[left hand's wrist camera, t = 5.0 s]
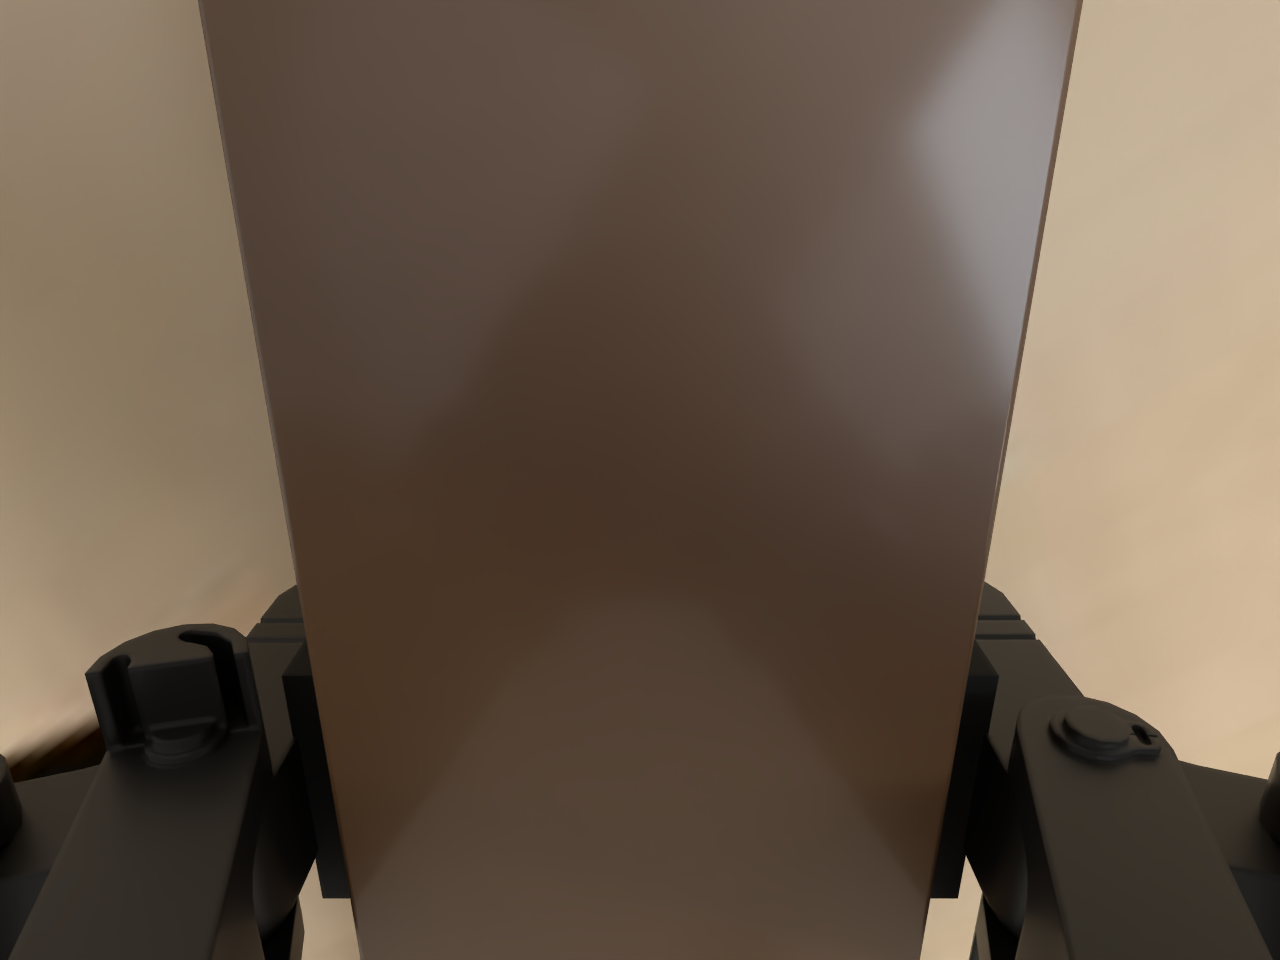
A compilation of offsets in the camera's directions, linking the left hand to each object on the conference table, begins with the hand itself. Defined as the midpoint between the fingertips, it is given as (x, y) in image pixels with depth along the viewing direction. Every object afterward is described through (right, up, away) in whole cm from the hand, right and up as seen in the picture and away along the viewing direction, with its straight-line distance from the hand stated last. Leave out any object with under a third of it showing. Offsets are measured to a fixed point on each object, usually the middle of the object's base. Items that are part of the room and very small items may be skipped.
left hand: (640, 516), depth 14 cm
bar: (0, -27, +12) cm, 29 cm away
